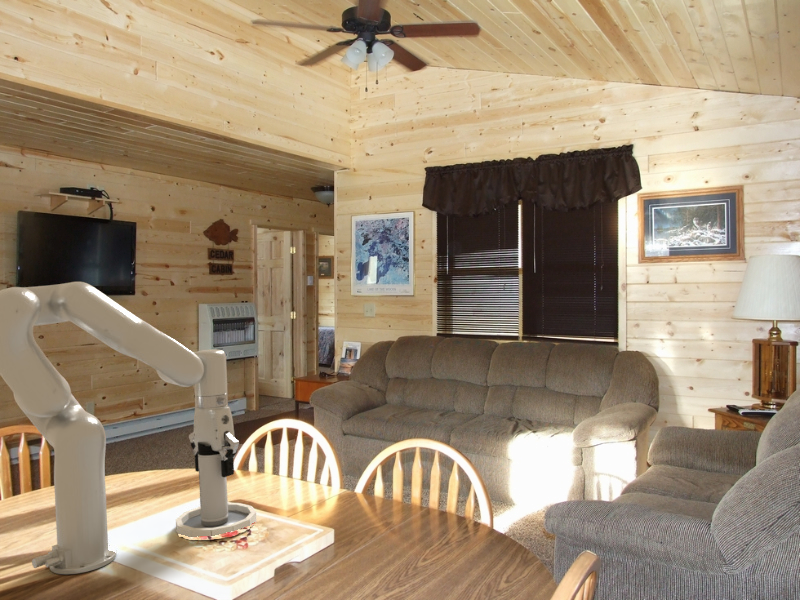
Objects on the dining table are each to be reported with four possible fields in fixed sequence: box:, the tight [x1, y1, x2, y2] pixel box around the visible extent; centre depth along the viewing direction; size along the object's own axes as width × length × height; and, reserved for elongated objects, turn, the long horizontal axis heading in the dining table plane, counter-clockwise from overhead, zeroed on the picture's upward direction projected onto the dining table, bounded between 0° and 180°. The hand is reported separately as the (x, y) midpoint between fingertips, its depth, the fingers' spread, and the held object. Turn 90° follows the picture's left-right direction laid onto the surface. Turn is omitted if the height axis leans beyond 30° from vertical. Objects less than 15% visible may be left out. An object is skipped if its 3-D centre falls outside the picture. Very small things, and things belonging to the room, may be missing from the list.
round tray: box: [175, 502, 257, 537], centre depth 151 cm, size 18×18×2 cm
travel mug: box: [198, 442, 229, 526], centre depth 151 cm, size 6×7×20 cm
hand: (214, 472), depth 151 cm, fingers open, 9 cm apart
